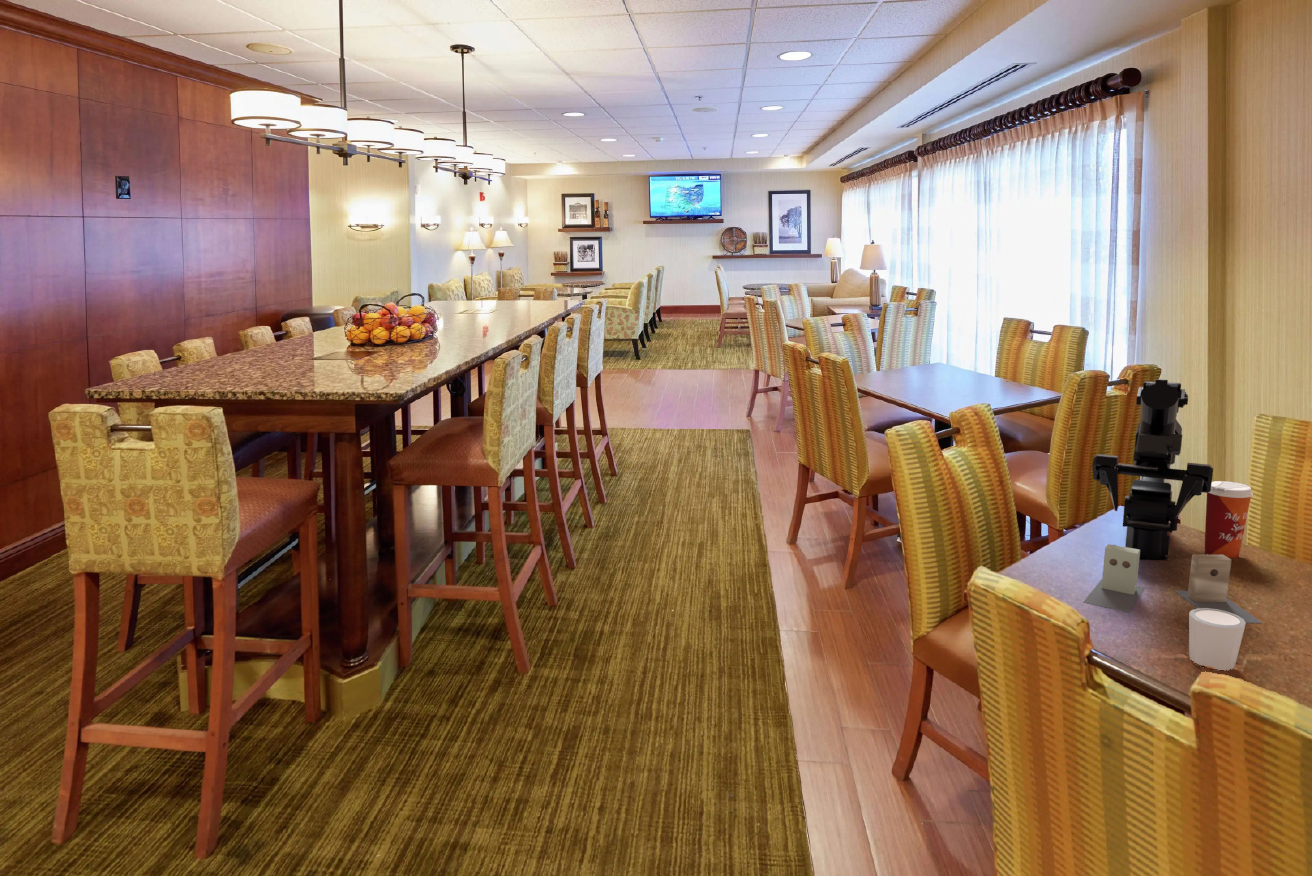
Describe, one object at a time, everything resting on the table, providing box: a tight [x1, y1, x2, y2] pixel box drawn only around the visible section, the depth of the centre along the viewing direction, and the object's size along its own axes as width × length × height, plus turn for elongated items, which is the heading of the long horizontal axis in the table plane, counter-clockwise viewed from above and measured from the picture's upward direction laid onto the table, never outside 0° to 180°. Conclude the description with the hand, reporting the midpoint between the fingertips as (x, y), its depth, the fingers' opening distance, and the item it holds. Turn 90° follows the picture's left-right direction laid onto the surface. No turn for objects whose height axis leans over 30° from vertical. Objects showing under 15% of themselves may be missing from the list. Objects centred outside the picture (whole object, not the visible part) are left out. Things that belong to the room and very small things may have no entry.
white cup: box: [1188, 608, 1247, 672], centre depth 123 cm, size 7×7×7 cm
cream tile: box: [1187, 554, 1232, 602], centre depth 143 cm, size 2×5×8 cm, turn 85°
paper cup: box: [1204, 480, 1254, 559], centre depth 164 cm, size 8×8×14 cm
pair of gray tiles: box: [1083, 578, 1263, 624], centre depth 144 cm, size 25×18×1 cm
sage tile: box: [1101, 543, 1140, 595], centre depth 148 cm, size 2×5×8 cm, turn 50°
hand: (1145, 513), depth 150 cm, fingers open, 9 cm apart
